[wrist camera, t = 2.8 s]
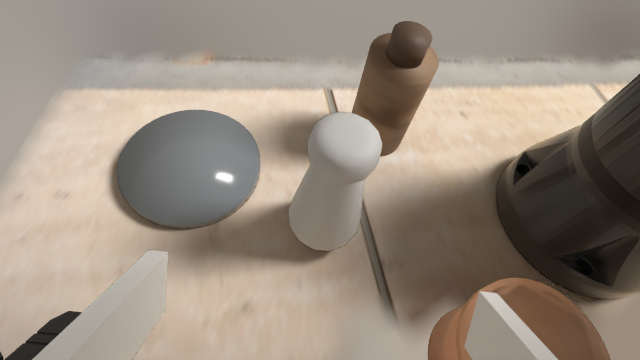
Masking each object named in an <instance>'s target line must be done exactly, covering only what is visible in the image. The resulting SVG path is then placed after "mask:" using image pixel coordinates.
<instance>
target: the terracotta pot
mask: <svg viewBox="0 0 640 360" xmlns="http://www.w3.org/2000/svg"><path fill="white" fill-rule="evenodd" d="M479 291H483V292H491V293H497V294H498V295H499V296H500V297H501V298H502V299H503V300H504V302H505V303H506V304H507V305H508V306H509V307H510V308H511V309H512V310H513V311H514V312H515V313H516V314H517V316H518V317H519V318H520V319H521V320H522V321H523V322H524V323H525V324H526V325H527V326H528V327H529V329H530V330H531V331H532V332H533V333H534V334H535V335H536V336H537V337H538V338H539V339H540V340H541V341H542V343H543V344H544V345H545V346H546V347H547V348H548V349H549V350H550V351H551V352H552V353H553V354H554V355H555V357H556V358H557V359H558V360H610V357H609V354H608V351H607V349H606V347H605V344H604V343H603V341H602V339H601V337H600V335H599V333H598V332H597V330H596V329H595V327H594V325H593V324H592V323H591V321H590V320H589V319H588V318H587V316H586V315H585V314H584V313H583V312H582V311H581V310H580V309H579V307H577V306H576V305H575V304H574V303H573V302H572V301H571V300H570V299H568V298H567V297H566V296H564V295H563V294H562V293H560V292H558V291H557V290H555V289H554V288H552V287H550V286H548V285H546V284H543V283H540V282H538V281H535V280H531V279H526V278H506V279H501V280H498V281H495V282H493V283H491V284H489V285H487V286H486V287H484V288H482V289H480V290H478V291H477V292H476V293H474V294H473V295H472V296H471V297H470V298H469V299H468V300H467V302H466V304H464V305H462V306H460V307H458V308H456V309H454V310H452V311H450V312H448V313H446V314H445V315H444V316H443V317H442V318H441V319H440V320H439V321H438V322H437V323H436V325H435V326H434V328H433V330H432V333H431V336H430V339H429V344H428V360H472V359H471V357H470V355H469V354H468V352H467V350H466V349H465V347H464V346H465V342H466V339H467V335H468V331H469V328H470V324H471V320H472V316H473V313H474V309H475V305H476V302H477V298H478V294H479Z"/></svg>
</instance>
